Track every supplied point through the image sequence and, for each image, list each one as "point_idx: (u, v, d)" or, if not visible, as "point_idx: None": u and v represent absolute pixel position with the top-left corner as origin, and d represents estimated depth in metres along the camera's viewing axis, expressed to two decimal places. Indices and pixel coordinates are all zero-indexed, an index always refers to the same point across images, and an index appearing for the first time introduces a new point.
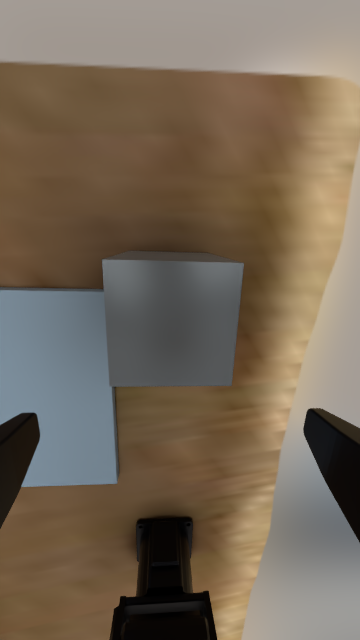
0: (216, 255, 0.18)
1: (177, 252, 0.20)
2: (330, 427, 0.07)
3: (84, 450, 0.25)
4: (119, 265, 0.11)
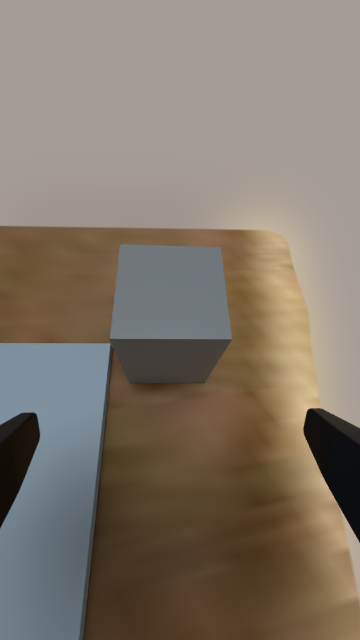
0: None
1: None
2: (330, 427, 0.07)
3: (33, 591, 0.15)
4: (132, 247, 0.16)
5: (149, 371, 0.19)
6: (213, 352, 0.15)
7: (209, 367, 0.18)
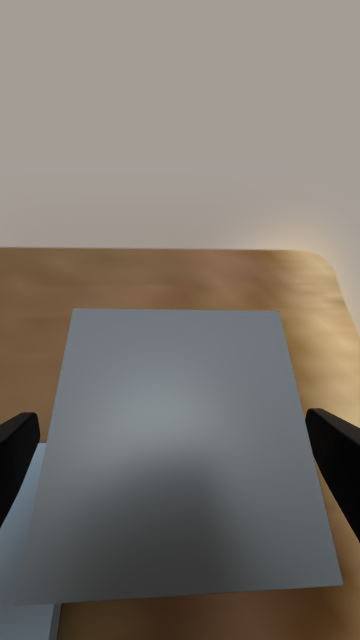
0: None
1: None
2: (330, 427, 0.07)
3: None
4: (97, 315, 0.08)
5: None
6: None
7: None
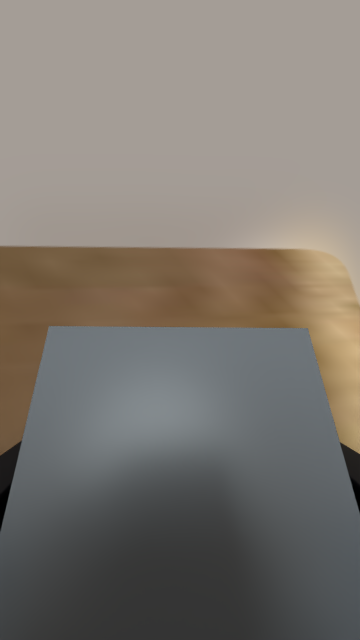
0: None
1: None
2: None
3: None
4: (79, 335, 0.06)
5: None
6: None
7: None
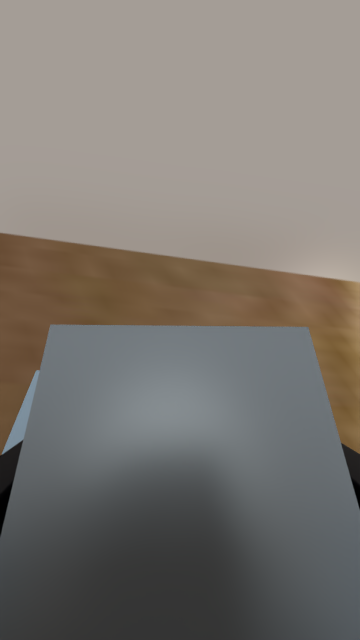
0: None
1: None
2: None
3: None
4: (81, 334, 0.06)
5: None
6: None
7: None
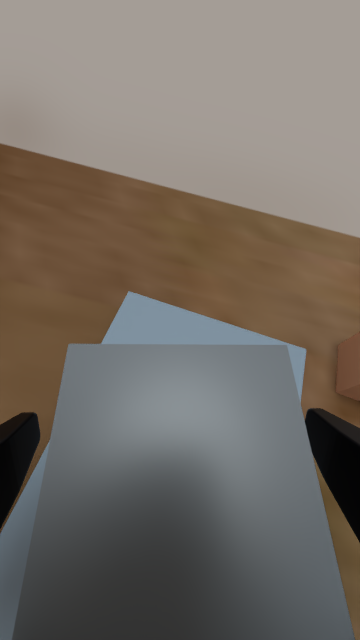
0: None
1: None
2: (330, 427, 0.07)
3: None
4: (94, 352, 0.07)
5: None
6: None
7: None
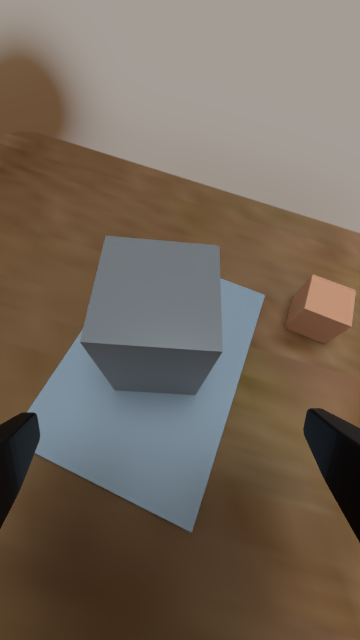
0: None
1: None
2: (330, 427, 0.07)
3: (176, 444, 0.19)
4: (118, 240, 0.14)
5: (133, 379, 0.17)
6: (202, 364, 0.13)
7: (199, 380, 0.16)
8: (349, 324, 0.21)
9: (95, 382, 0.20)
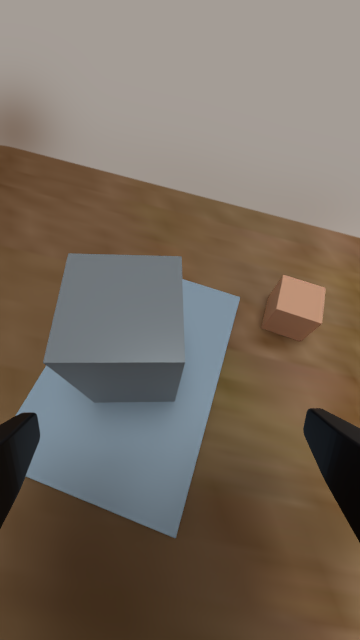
0: None
1: None
2: (330, 427, 0.07)
3: (157, 451, 0.19)
4: (81, 257, 0.14)
5: (108, 392, 0.17)
6: (170, 374, 0.14)
7: (173, 388, 0.17)
8: (320, 321, 0.22)
9: (74, 396, 0.20)
